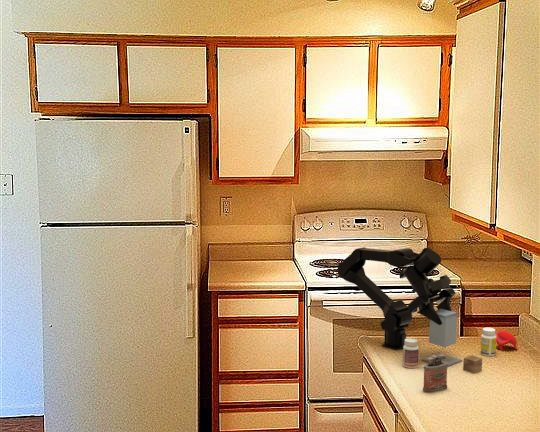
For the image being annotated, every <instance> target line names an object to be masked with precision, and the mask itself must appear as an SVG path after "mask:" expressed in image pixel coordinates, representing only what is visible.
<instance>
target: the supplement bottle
mask: <svg viewBox="0 0 540 432" xmlns="http://www.w3.org/2000/svg"><path fill="white" fill-rule="evenodd" d="M480 337H481V338H480V354H481V355H483V356H485V357H494V356H496V353H497V342H496V329H495V328H493V327H483V328H482V334H481V336H480Z"/></svg>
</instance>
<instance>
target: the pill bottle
mask: <svg viewBox="0 0 540 432" xmlns="http://www.w3.org/2000/svg"><path fill="white" fill-rule="evenodd" d="M418 344H419V340H418V339H416V338H412V337H409V338H407V337H406V339H405V345H404V346H403V348H402V365H403V367H405V368H407V369H416V368H418V367H419V351H420V350H419V349H420V347H419V346H418Z"/></svg>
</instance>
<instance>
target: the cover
mask: <svg viewBox="0 0 540 432" xmlns="http://www.w3.org/2000/svg"><path fill="white" fill-rule="evenodd" d="M435 311H436V313H437V314H438V316H439V318H440V320H441V322H442V324H441V325H438V324H437V323H435V322H433V321H432V320H430V319H429V330H428V331H429V333H428V335H429V336H428V343H430V344H433V345H436V346H439V347H443V348H447V347H449V346H451V345H452V346H453V345H455V344H457V327H458V326H457V325H458V324H457V323H458V312H456V311H448V310H445V309H439V310H438V309H435Z"/></svg>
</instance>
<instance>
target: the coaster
mask: <svg viewBox="0 0 540 432" xmlns="http://www.w3.org/2000/svg"><path fill="white" fill-rule="evenodd" d="M442 354H444V355H445V356H446V359H445V360H442V361H445V362H448V366H447V368H449V367H452V366H454V365H456V364H459V363H461V362H463V359H462V358H458V357H454V356H451V355H449V354H445V353H441V352H436V353H433V354H431V355H429V356H428V355H427V356H426V357H423V358H421V361H422V362H426V363H428V362H427V361H428V358H430V357H432V355H435V356H438V355H442Z"/></svg>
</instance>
